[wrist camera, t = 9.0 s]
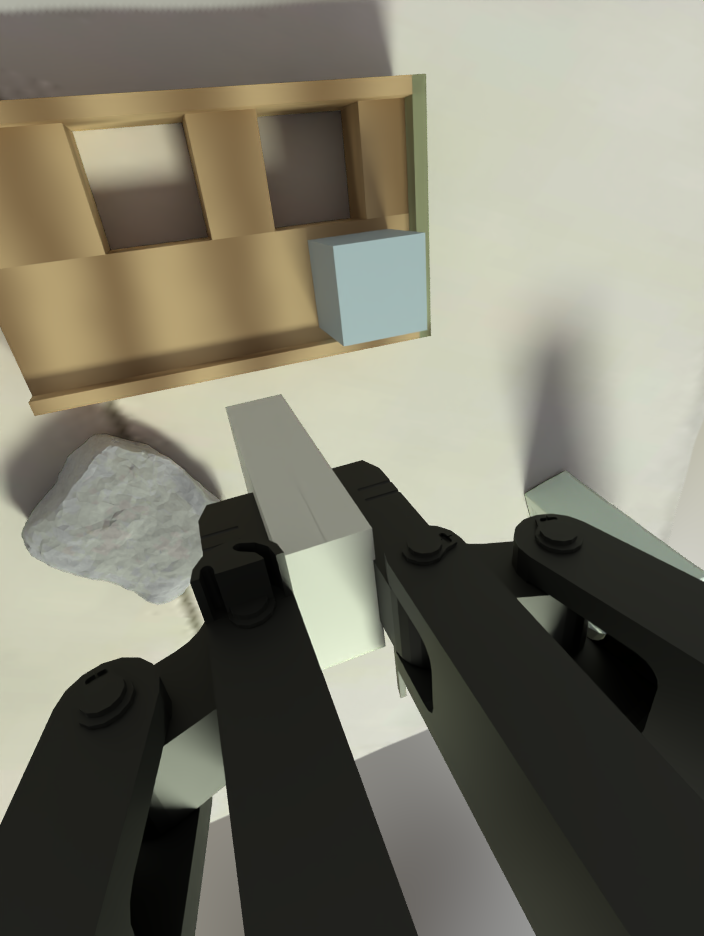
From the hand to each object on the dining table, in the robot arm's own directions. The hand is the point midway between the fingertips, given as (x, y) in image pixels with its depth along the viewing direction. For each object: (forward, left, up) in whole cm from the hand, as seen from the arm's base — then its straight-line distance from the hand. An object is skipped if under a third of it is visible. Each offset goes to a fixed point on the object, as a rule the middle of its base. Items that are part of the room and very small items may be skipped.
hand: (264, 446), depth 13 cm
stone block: (-8, -13, -21) cm, 26 cm away
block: (+9, +1, -18) cm, 20 cm away
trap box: (+2, +4, -21) cm, 21 cm away
